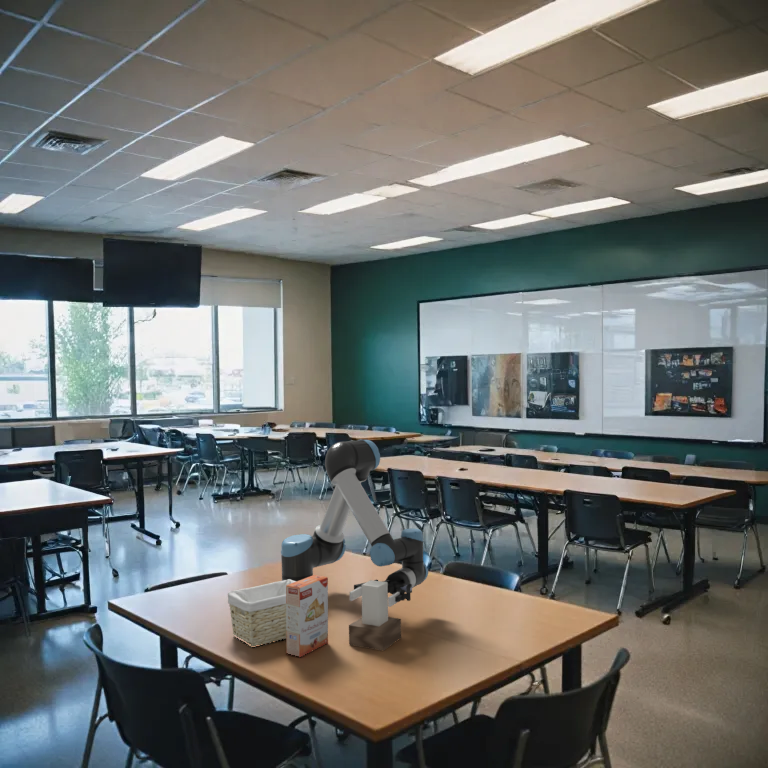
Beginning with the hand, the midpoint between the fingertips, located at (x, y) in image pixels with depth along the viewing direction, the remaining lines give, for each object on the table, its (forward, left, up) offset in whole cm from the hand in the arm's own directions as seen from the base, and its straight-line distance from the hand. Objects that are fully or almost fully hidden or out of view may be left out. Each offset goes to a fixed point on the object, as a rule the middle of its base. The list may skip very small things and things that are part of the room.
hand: (369, 599), depth 218 cm
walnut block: (+2, +3, -14) cm, 14 cm away
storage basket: (-31, +14, -14) cm, 37 cm away
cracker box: (-19, 0, -14) cm, 24 cm away
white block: (+2, +3, -8) cm, 9 cm away
